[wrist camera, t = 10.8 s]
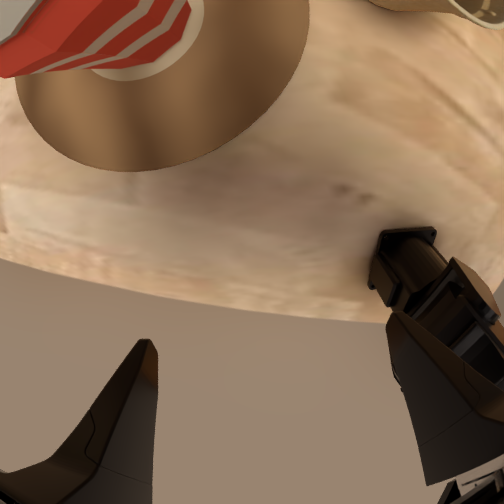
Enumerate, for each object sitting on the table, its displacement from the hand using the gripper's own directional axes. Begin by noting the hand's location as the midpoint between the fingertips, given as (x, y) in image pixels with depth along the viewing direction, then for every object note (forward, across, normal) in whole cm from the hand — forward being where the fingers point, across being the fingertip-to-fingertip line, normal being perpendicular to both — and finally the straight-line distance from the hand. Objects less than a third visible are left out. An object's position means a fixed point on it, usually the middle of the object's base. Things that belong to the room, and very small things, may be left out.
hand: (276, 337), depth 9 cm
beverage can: (+11, +6, -13) cm, 18 cm away
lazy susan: (+12, +6, -13) cm, 19 cm away
